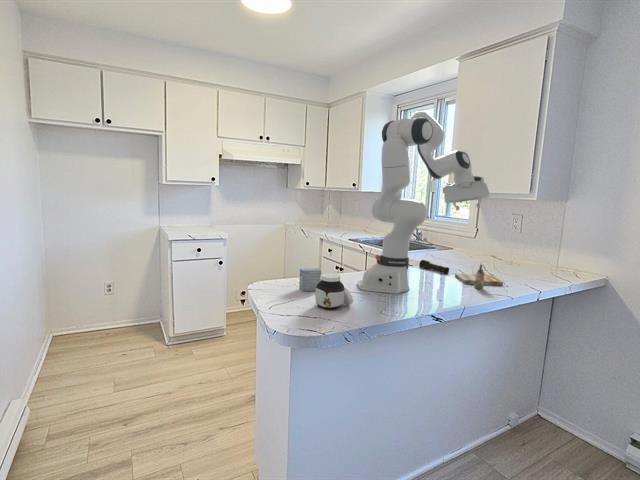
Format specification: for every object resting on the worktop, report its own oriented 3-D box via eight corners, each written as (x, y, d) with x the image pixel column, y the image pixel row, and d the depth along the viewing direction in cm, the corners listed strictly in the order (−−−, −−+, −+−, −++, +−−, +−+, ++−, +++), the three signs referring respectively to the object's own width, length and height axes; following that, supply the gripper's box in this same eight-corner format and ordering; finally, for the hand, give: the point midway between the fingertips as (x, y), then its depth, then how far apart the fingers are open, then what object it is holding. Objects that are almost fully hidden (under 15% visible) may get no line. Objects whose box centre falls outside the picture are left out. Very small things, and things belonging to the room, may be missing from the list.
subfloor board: (464, 283, 171) (464, 279, 170) (454, 276, 184) (455, 273, 183) (502, 285, 170) (503, 281, 170) (490, 278, 183) (491, 274, 183)
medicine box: (316, 287, 154) (317, 267, 153) (320, 290, 150) (321, 270, 149) (298, 288, 151) (299, 268, 150) (302, 292, 147) (303, 271, 146)
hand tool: (449, 274, 189) (450, 265, 189) (444, 275, 187) (444, 266, 187) (422, 266, 206) (423, 258, 205) (417, 267, 204) (418, 259, 203)
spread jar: (311, 306, 130) (313, 275, 129) (328, 299, 140) (330, 269, 138) (340, 314, 124) (342, 281, 122) (356, 305, 133) (358, 275, 131)
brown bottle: (476, 289, 162) (478, 265, 161) (472, 286, 166) (475, 263, 164) (484, 289, 162) (486, 265, 161) (480, 287, 166) (483, 263, 164)
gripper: (442, 183, 179) (445, 209, 175) (486, 176, 173) (491, 203, 169) (442, 188, 185) (445, 213, 180) (485, 182, 179) (490, 208, 174)
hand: (468, 208), depth 175 cm, fingers open, 8 cm apart
